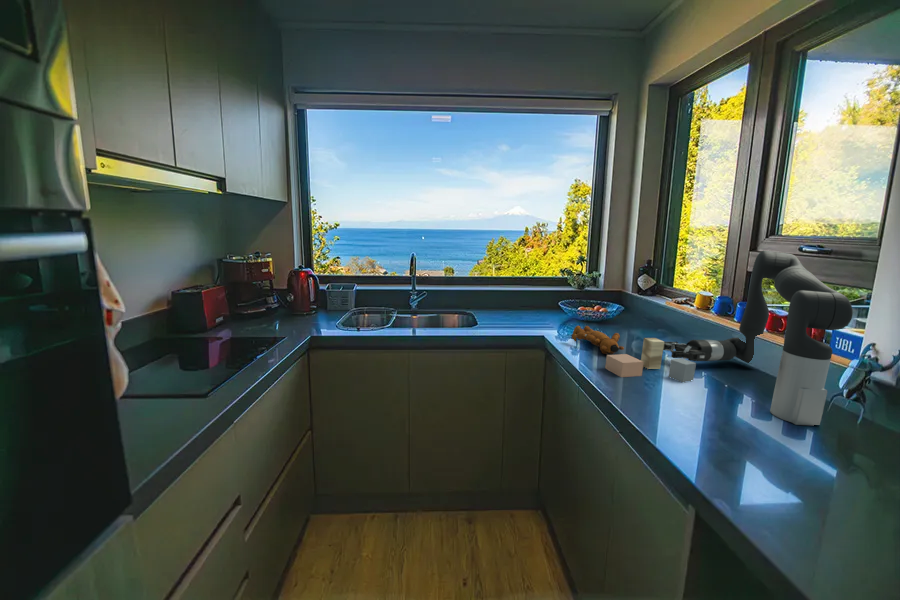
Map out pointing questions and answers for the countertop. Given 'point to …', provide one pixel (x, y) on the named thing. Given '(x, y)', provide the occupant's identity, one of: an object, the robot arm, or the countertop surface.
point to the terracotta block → (624, 365)
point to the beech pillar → (652, 353)
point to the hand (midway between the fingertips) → (663, 350)
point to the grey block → (682, 370)
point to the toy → (598, 339)
